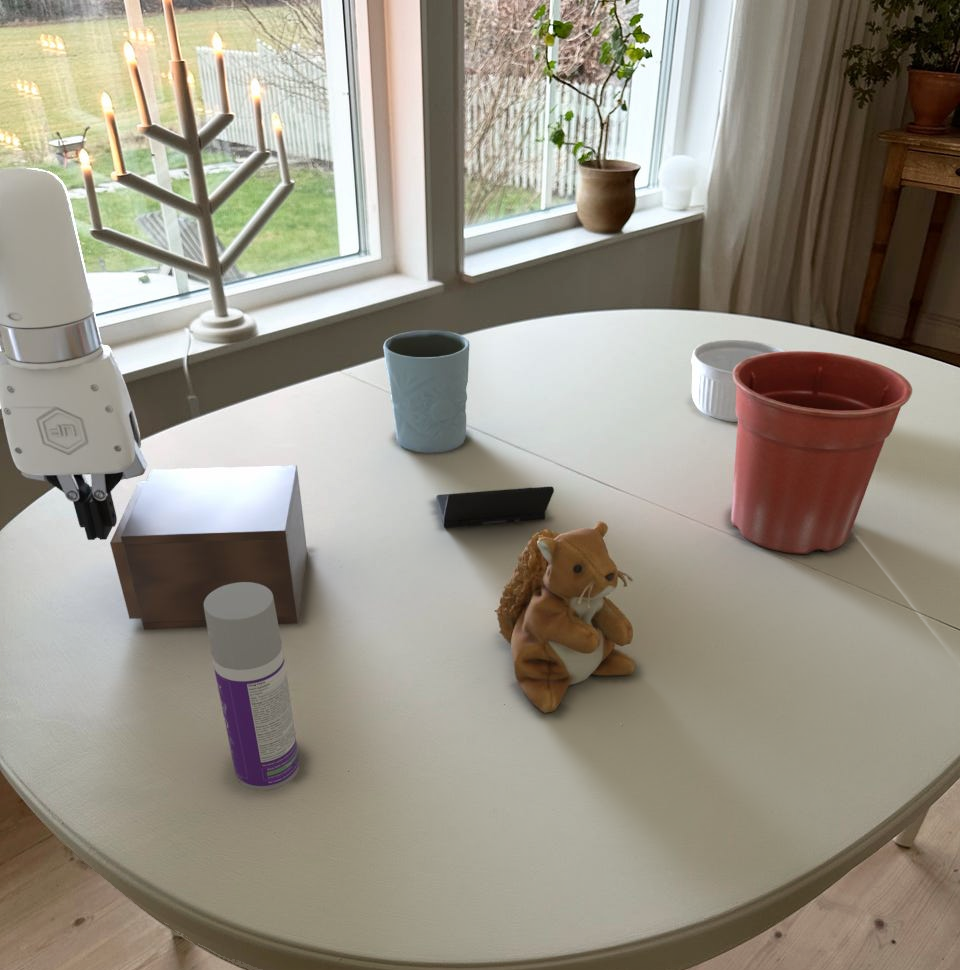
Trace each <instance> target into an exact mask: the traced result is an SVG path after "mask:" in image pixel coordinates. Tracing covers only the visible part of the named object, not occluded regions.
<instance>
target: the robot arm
mask: <svg viewBox="0 0 960 970" xmlns="http://www.w3.org/2000/svg"><path fill="white" fill-rule="evenodd" d="M73 213H74V212H73V208H72V203H71V200H70V197H69V193H68V189H67V187H66V186H65V184H64V182H63V181H62V180H61V179H60V178H59V177H58V175H56V174H54V173H53V172H50V171H47V170H44V169H39V168H28V167H11V168H10V167H9V168H0V349H1V352H2V354H1V355H0V407H1V408H0V409H1V416H2V421H3V426H4V430H5V435H6V439H7V444H8V448H9V451H10V455H11V458H12V461H13V463H14V465H15V467H16V468H17V469H18V470H19V471H20V473H21V475H22V476H23V477H24V478H26V479H31V480H34V481H41V482H46V481H47V482H48V483H49V484H50V485H52V486H53V487H55V488H56V489H57V490H59V491H61V492H62V493H63V494H64V495H65V498H66V499H67V500H68V501H69V502H72V503H73V506H74V511H75V515H76V518H77V521H78V525H79V527H80V528H81V529H82V528H84V531H85V534H86V535H85V536H86V539H87V540H88V541H95V540H96V539H99V540H101V541H103V540H104V541H105V540H107V539H108V537H109V535H110V533H111V531H112V529H113V528H114V527H116V525H117V523H118V516H117V512H116V508H115V503H114V500H113V495H112V491H113V490H114V489H115V488H116V486H117V485H119V483H120V482H121V481H123V480H129V479H132V478H137V477H140V476H142V475H145V473H146V471H147V468H148V463H147V461H146V459H145V457H144V455H143V453H142V451H141V447H142V439H141V433H140V427H139V424H138V420H137V417H136V413H135V409H134V405H133V402H132V400H131V396H130V393H129V390H128V387H127V384H126V381H125V379H124V376H123V374H122V371H121V369H120V366H119V364H118V362H117V360H116V357H115V355H114V353H113V351H112V348H111V347H110V346H109V345H106V344H102V338H101V334H100V329H99V324H98V320H97V316H96V312H95V307H94V302H93V300H92V294H91V290H90V284H89V280H88V277H87V272H86V266H85V262H84V258H83V254H82V249H81V245H80V240H79V236H78V231H77V227H76V223H75V218H74V214H73ZM86 475H90V479H91V485H90V484H88V480H87V477H86Z"/></svg>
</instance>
